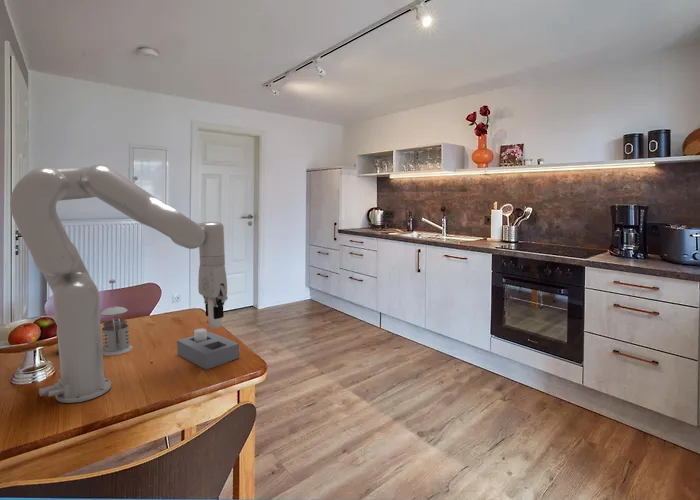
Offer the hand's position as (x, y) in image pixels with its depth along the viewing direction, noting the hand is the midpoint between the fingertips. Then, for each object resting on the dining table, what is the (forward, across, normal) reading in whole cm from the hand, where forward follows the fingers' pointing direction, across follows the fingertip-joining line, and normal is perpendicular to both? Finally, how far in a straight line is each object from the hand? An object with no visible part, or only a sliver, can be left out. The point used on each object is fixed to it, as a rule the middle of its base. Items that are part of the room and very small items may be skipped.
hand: (214, 316), depth 126 cm
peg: (+3, 0, 0) cm, 3 cm away
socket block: (+15, -5, 0) cm, 16 cm away
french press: (+15, -33, -18) cm, 40 cm away
